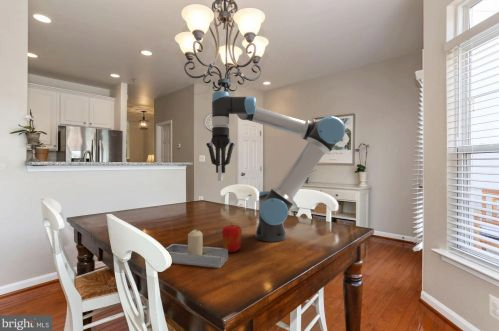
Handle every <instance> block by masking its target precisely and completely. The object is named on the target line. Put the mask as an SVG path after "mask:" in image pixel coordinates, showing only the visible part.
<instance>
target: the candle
mask: <svg viewBox="0 0 499 331" xmlns="http://www.w3.org/2000/svg"><path fill="white" fill-rule="evenodd" d="M203 234H204V233H203V232H201V231H200V229H199V230H198V229H197V228H196V229H193V230H191V231H190V232H189V233H188V234H187V245H188V254H198V255H202V253H203V247H204V246H203V237H204V236H203Z"/></svg>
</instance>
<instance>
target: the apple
mask: <svg viewBox="0 0 499 331" xmlns="http://www.w3.org/2000/svg"><path fill="white" fill-rule="evenodd" d="M221 232H222V239H223V240H222V241H223V248H225V249H228V253H235V252H237V251H238V250H240V248H241V247H242V246H241V244H242V234H243V229H242V228H241V226H239V225H237V224H235V225H234V224H233V223H231V224H230V225H226V226H224V227H223V228H222V231H221Z"/></svg>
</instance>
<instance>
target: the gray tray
mask: <svg viewBox="0 0 499 331" xmlns="http://www.w3.org/2000/svg"><path fill="white" fill-rule="evenodd" d="M164 249H166V250H167V251H168V252H169V254H170V255H171V257H172V263H171V264H178V265H179V264H180V265H187V266H197V267H206V268H216V269H220V268H222V266H224V264H225V262H227V260H228V259H229V252H228V249H225V248H224V247H212V246H203V253H202V255H198V254H188V244H181V243H180V244H178V243H171V244H170V245H169V246H167V247H165V248H164Z"/></svg>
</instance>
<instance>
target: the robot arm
mask: <svg viewBox="0 0 499 331" xmlns="http://www.w3.org/2000/svg"><path fill="white" fill-rule="evenodd" d="M256 98H257V97H255V96H249V95H248V96H230V93H229V92H228V91H225V90H224V91H223V90H217V91H214V92H213V93H212V100H211V126H212V128H211V136H212V137H211V140H210V141H209V142H207V143H206V144H205V145H206V147H207V149H208V151H209V152H208V153H209V156H210V161H211V165H215V173H216V174H217V181H218V182H219V181H221V182H222V181H224V174H225V173H226V165H227V166H228V165H229V164H230V162H231V157H232V154H233V149H234V147H235V145H236V143H235V142H232V141H231V138H230V128H229V127H230V115H237V117H238V118H239V119H240V120H242V121H249V122H253V123H256V124H259V125H263V126H266V127H269V128H272V129H275V130H278V131H281V132H282V131H283V132H286V133H288V134H293V135H295V136H299V137H300V138H301V139H302V140H304V141H307V143H306V145H305V146H304V148H303V149H302V150H301V152H300V154H299V155H298V157H296V159H295V161H294V162H293V164H292V165H291V167H290V168H289V169H288V170H287V172H286V174H284V177H283V178H282V179H281V180H280V182H279V183H278V185H277V186H275V187H273V188H271V189H270V190H265V191H260V192H259V194H258V223H257V227H256V230H255V233H254V234H255V236H254V237H255V239H257V240H259V241H263V242H268V243H270V242H273V243H274V242H275V243H277V242H281V241H284V240H286V238H287V232H286V230H285V227H284V223H285V221H286V220H287V218H288V214H289V211H290V210H291V208H292V206H293V205H294V198H295V196H296V195H297V193H298V192H299V190H301V188H302V186H304V183H306V180H308V178H309V176H310V175H311V174H312V172H313V171H314V169H315V168H316V166H317V165H318V164H319V162H320V161H321V159H322V158H323V157H324V156H325V154H330V152H331V151H332V150H333V148H334V147H335V145H336V144H338V143H340V141H342V139H343V138H344V137H345V135H346V128H345V125H344V124H345V123H344V122H343V121H342V120H341V119H340V118H338V117H336V116H325V117H323V118H322V119H320V120H319V121H314V120H309V119H307V120H302V119H299V118H296V117H292V116H289V115H285V114H282V113H280V112H279V113H278V112H276V111H273V110H269V109H266V108H263V107H260V106H257V99H256ZM213 146H214V147H215V148H213ZM227 146H228V148H227ZM214 150H215V152H214ZM226 150H227V154H226Z"/></svg>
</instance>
